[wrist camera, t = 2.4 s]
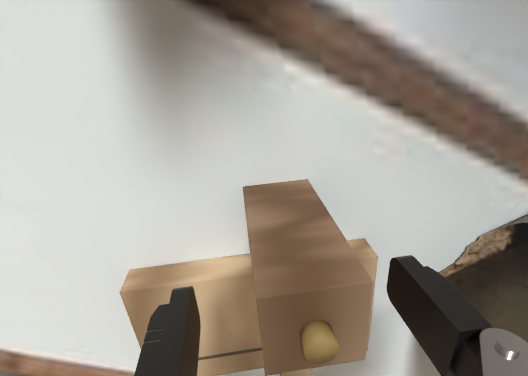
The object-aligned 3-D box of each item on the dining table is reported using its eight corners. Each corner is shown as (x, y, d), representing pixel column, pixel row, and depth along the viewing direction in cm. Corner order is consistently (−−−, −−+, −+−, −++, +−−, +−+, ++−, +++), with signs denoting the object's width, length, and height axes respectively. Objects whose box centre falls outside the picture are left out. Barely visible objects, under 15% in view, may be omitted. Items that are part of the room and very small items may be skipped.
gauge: (307, 179, 18) (384, 300, 9) (309, 318, 23) (360, 481, 14) (242, 186, 18) (258, 319, 9) (259, 325, 23) (279, 497, 14)
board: (364, 238, 20) (378, 256, 19) (356, 328, 24) (367, 351, 22) (129, 269, 19) (119, 292, 17) (160, 359, 23) (154, 386, 21)
